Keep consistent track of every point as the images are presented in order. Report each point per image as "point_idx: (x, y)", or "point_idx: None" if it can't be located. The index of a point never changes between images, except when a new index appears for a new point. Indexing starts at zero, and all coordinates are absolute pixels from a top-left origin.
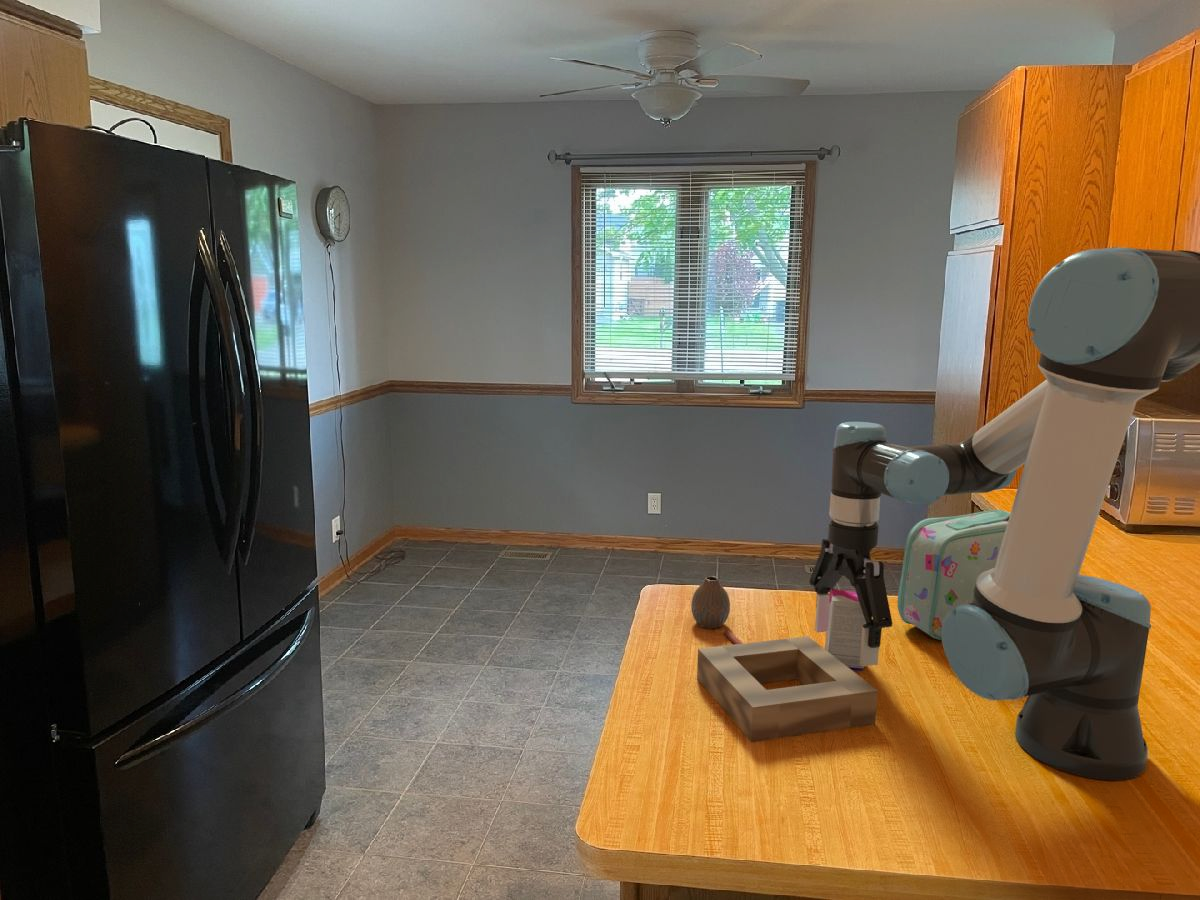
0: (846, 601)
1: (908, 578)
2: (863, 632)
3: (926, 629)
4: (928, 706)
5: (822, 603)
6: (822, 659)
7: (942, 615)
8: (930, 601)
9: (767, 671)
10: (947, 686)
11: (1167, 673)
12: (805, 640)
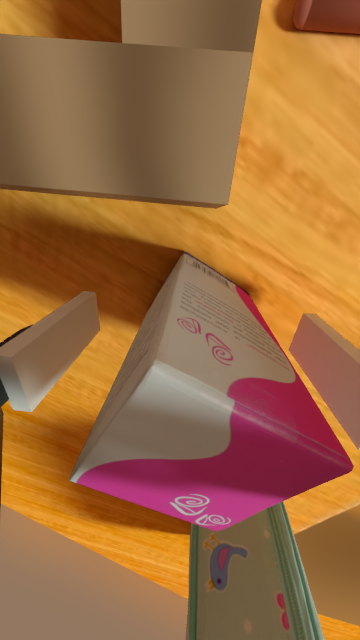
0: (120, 428)
1: (278, 603)
2: (22, 338)
3: None
4: (5, 329)
5: (358, 382)
6: (5, 108)
7: None
8: (201, 547)
9: None
10: (71, 392)
11: (77, 535)
12: (196, 160)
